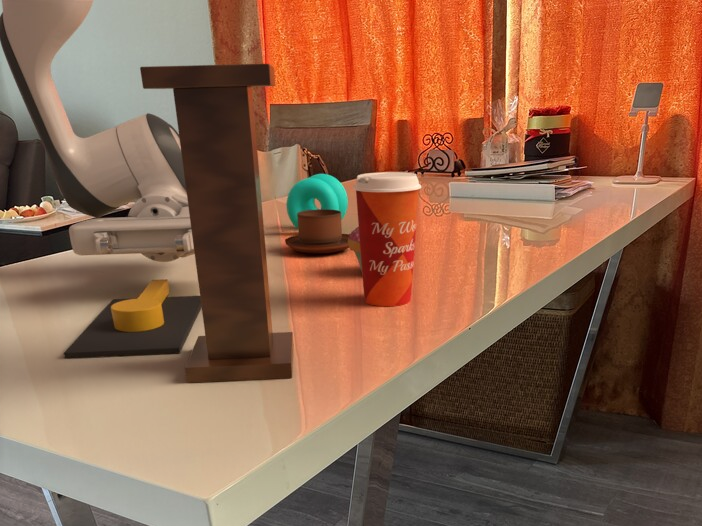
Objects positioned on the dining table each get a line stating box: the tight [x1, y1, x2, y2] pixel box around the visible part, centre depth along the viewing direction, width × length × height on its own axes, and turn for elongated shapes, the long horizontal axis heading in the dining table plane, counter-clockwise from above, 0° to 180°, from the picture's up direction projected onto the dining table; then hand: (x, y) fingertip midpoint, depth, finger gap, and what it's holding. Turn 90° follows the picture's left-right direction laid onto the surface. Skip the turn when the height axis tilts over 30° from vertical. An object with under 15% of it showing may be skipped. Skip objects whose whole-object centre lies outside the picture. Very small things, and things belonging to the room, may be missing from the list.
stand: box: [139, 63, 294, 384], centre depth 66 cm, size 10×10×26 cm
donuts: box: [286, 173, 349, 230], centre depth 136 cm, size 10×10×10 cm
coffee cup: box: [352, 171, 422, 307], centre depth 89 cm, size 8×8×15 cm
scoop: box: [111, 278, 170, 332], centre depth 88 cm, size 18×6×2 cm, turn 4°
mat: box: [63, 295, 202, 359], centre depth 85 cm, size 12×22×1 cm, turn 4°
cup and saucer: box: [284, 208, 350, 254], centre depth 120 cm, size 12×12×6 cm
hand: (142, 246), depth 86 cm, fingers open, 8 cm apart
